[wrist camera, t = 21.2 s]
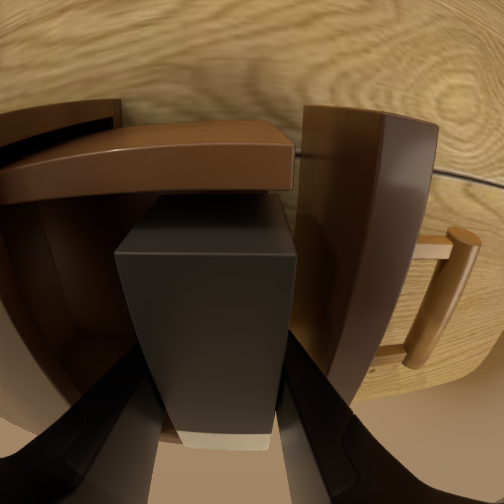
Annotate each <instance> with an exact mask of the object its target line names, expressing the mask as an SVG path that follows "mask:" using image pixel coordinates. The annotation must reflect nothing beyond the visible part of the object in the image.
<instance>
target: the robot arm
mask: <svg viewBox="0 0 504 504" xmlns="http://www.w3.org/2000/svg"><path fill="white" fill-rule="evenodd" d="M165 409H166V408H165V406H164V403H163V401H162V399H161V397H160V394H159V392H158V390H157V387H156V385H155V382H154V380H153V377H152V375H151V372H150V370H149V367H148V365H147V362H146V359H145V357H144V354H143V351H142V348H141V345H140V343H139V340H138V341H137V342H136V343H135V344H134V345H133V346H132V347H131V348H130V349H129V350H128V351H127V352H126V353H125V354H124V355H123V356H122V357H121V358H120V359H119V360H118V361H117V362H116V363H115V364H114V365H113V366H112V367H111V368H110V369H109V370H108V371H107V372H106V373H105V374H104V375H103V376H102V377H101V378H100V379H99V380H98V381H97V382H96V383H95V384H94V385H93V386H92V387H91V388H90V389H89V390H88V391H86V392H85V393H84V394H83V395H82V396H81V397H80V401H79V400H77V401H76V402H75V403H74V404H73V405H72V406H71V407H70V408H69V409H68V410H67V411H66V412H65V413H64V414H63V415H62V416H61V417H60V418H59V419H58V420H56V421H55V422H54V423H53V424H52V425H51V426H49V427H48V428H47V429H46V430H45V431H43V432H42V433H41V434H39V435H38V436H37V437H36V438H34V439H33V440H32V441H31V442H29V443H28V444H27V445H26V446H24V447H23V448H22V449H20V450H19V451H18V452H16V453H14V454H12V455H10V456H7V457H4V458H0V504H147V501H148V495H149V490H150V484H151V478H152V473H153V467H154V462H155V457H156V452H157V447H158V442H159V437H160V432H161V427H162V423H163V418H164V413H165ZM276 415H277V421H278V426H279V432H280V437H281V444H282V449H283V455H284V461H285V466H286V472H287V478H288V484H289V489H290V495H291V501H292V504H504V498H502V499H500V500H498V501H496V502H495V503H488V502H483V501H479V500H474V499H470V498H466V497H462V496H458V495H454V494H451V493H447V492H444V491H441V490H437V489H435V488H432V487H430V486H428V485H426V484H425V483H423V482H422V481H420V480H418V478H416V477H415V476H414V475H413V474H412V473H411V472H410V471H409V470H408V469H407V468H405V467H404V466H403V465H402V464H401V463H400V462H399V461H398V460H397V459H396V458H395V457H394V456H392V455H391V454H390V453H389V452H388V451H387V450H386V449H385V448H384V447H383V446H382V445H381V444H380V443H379V442H378V441H377V440H376V439H375V438H374V437H373V435H372V434H371V433H370V432H369V431H368V429H367V428H366V427H365V426H364V425H363V424H362V422H361V421H360V420H359V418H358V417H357V416H356V415H355V414H353V411H352V410H351V408H350V407H349V406H348V405H347V403H346V402H345V401H344V399H343V398H342V397H341V396H340V394H339V393H338V392H337V391H336V389H335V388H334V387H333V385H332V384H331V383H330V381H329V380H328V379H327V378H326V376H325V375H324V374H323V372H322V371H321V370H320V369H319V367H318V366H317V365H316V363H315V362H314V361H313V359H312V358H311V357H310V356H309V354H308V353H307V352H306V350H305V349H304V348H303V346H302V345H301V344H300V342H299V341H298V340H297V339H296V337H295V336H294V335H293V333H292V332H291V331H290V330H288V337H287V344H286V350H285V357H284V364H283V370H282V376H281V382H280V388H279V394H278V400H277V406H276Z"/></svg>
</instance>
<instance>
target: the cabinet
mask: <svg viewBox="0 0 504 504" xmlns="http://www.w3.org/2000/svg"><path fill="white" fill-rule="evenodd" d="M119 128H122V114H121V99H119V98H116V99H96V100H83V101H73V102H64V103H56V104H49V105H42V106H36V107H31V108H25V109H20V110H15V111H10V112H6V113H1V114H0V158H2V157H4V156H7V155H9V154H12V153H14V152H17V151H19V150H22V149H25V148H27V147H31V146H35V145H38V144H42V143H46V142H50V141H55V140H59V139H63V138H68V137H73V136H78V135H83V134H88V133H94V132H99V131H106V130H112V129H119ZM81 396H82V394H81V393H80V391H79V390H78V389H77V387H76V386H75V384H74V383H73V381H72V380H71V378H70V377H69V375H68V374H67V372H66V371H65V369H64V368H63V366H62V364H61V363H60V361H59V360H58V358H57V356H56V355H55V353H54V351H53V350H52V348H51V346H50V344H49V343H48V341H47V339H46V337H45V335H44V333H43V332H42V330H41V328H40V326H39V324H38V322H37V320H36V318H35V316H34V314H33V312H32V310H31V308H30V306H29V304H28V301H27V299H26V297H25V295H24V293H23V290H22V288H21V286H20V283H19V281H18V278H17V276H16V273H15V271H14V268H13V265H12V263H11V260H10V257H9V254H8V252H7V249H6V246H5V243H4V239H3V236H2V233H1V230H0V417H2V418H4V419H6V420H7V421H9V422H11V423H13V424H15V425H17V426H19V427H21V428H23V429H26V430H27V431H30V432H32V433H34V434H36V435H39V434H41V433H42V432H43V431H45V430H46V429H47V428H48V427H49V426H51V425H52V424H53V423H54V422H55V421H56V420H58V419H59V418H60V417H61V416H62V415H63V414H64V413H65V412H66V411H67V410H68V409H69V408H70V407H71V406H72V405H73V404H74V403H75V402H76V401H77V400H79V401H80V397H81Z"/></svg>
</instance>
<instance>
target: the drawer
mask: <svg viewBox="0 0 504 504" xmlns="http://www.w3.org/2000/svg"><path fill="white" fill-rule="evenodd" d="M438 132H439V127H438V125H436V124H434V123H431V122H427V121H423V120H419V119H415V118H411V117H407V116H403V115H398V114H394V113H389V112H384V111H377V110H369V109H360V108H350V107H338V106H324V105H304V106H303V126H302V145H301V161H300V176H299V189H298V202H297V214H296V226H295V237H294V245H295V248H296V251H297V255H298V259H297V267H296V276H295V284H294V292H293V300H292V308H291V315H290V323H289V330H290V331H291V332H292V333H293V335H294V336H295V337H296V339H297V340H298V341H299V342H300V344H301V345H302V346H303V348H304V349H305V350H306V352H307V353H308V354H309V356H310V357H311V358H312V359H313V361H314V362H315V363H316V365H317V366H318V367H319V369H320V370H321V371H322V372H323V374H324V375H325V376H326V378H327V379H328V380H329V381H330V383H331V384H332V385H333V387H334V388H335V389H336V391H337V392H338V393H339V394H340V396H341V397H342V398H343V399H344V401H345V402H346V403H347V405H348V406H350V404H351V402H352V400H353V398H354V397H355V395H356V393H357V391H358V389H359V387H360V385H361V383H362V381H363V379H364V377H365V375H366V373H367V371H368V369H369V367H371V366H379V365H386V364H392V363H398V362H401V363H402V364H403V365H404V366H405V367H407V368H410V369H419V368H421V367H423V366H424V364H425V363H426V361H427V360H428V358H429V356H430V355H431V353H432V351H433V350H434V348H435V346H436V344H437V343H438V341H439V339H440V337H441V335H442V333H443V332H444V330H445V328H446V326H447V324H448V322H449V320H450V318H451V316H452V314H453V312H454V310H455V308H456V306H457V304H458V302H459V300H460V297H461V295H462V293H463V291H464V288H465V286H466V284H467V281H468V279H469V277H470V274H471V272H472V269H473V266H474V264H475V261H476V259H477V256H478V253H479V250H480V247H481V244H482V243H481V240H480V238H479V237H477V236H476V235H475V234H474V233H472V232H470V231H468V230H466V229H463V228H460V227H449V228H448V229H447V233H446V236H434V235H419V232H420V228H421V224H422V220H423V216H424V212H425V208H426V203H427V199H428V194H429V189H430V184H431V179H432V173H433V167H434V161H435V155H436V148H437V140H438ZM295 150H296V147H295V144H294V143H293V142H292V141H290V140H289V139H288V138H287V137H286V136H285V135H284V134H282V133H281V132H280V131H279V130H278V129H277V128H276V127H274V126H273V125H272V124H271V123H270V122H268V121H262V120H214V121H190V122H175V123H162V124H152V125H142V126H134V127H126V128H119V129H112V130H106V131H99V132H94V133H88V134H83V135H78V136H73V137H68V138H63V139H59V140H55V141H50V142H46V143H42V144H38V145H35V146H31V147H27V148H25V149H22V150H19V151H17V152H14V153H12V154H9V155H7V156H4V157H2V158H0V230H1V233H2V236H3V239H4V243H5V246H6V249H7V252H8V254H9V257H10V260H11V263H12V265H13V268H14V271H15V273H16V276H17V278H18V281H19V283H20V286H21V288H22V290H23V293H24V295H25V297H26V299H27V301H28V304H29V306H30V308H31V310H32V312H33V314H34V316H35V318H36V320H37V322H38V324H39V326H40V328H41V330H42V332H43V333H44V335H45V337H46V339H47V341H48V343H49V344H50V346H51V348H52V350H53V351H54V353H55V355H56V356H57V358H58V360H59V361H60V363H61V364H62V366H63V368H64V369H65V371H66V372H67V374H68V375H69V377H70V378H71V380H72V381H73V383H74V384H75V386H76V387H77V389H78V390H79V391H80V393H81V394H82V395H83V394H84V393H85V392H86V391H88V390H89V389H90V388H91V387H92V386H93V385H94V384H95V383H96V382H97V381H98V380H99V379H100V378H101V377H102V376H103V375H104V374H105V373H106V372H107V371H108V370H109V369H110V368H111V367H112V366H113V365H114V364H115V363H116V362H117V361H118V360H119V359H120V358H121V357H122V356H123V355H124V354H125V353H126V352H127V351H128V350H129V349H130V348H131V347H132V346H133V345H134V344H135V343H136V342H137V341H138V337H137V334H136V331H135V328H134V325H133V322H132V319H131V315H130V312H129V309H128V306H127V302H126V299H125V295H124V292H123V288H122V285H121V281H120V277H119V273H118V269H117V265H116V261H115V257H114V252H115V251H116V249H117V248H118V247H119V245H120V244H121V243H122V241H123V240H124V239H125V238H126V236H127V235H128V234H129V232H130V231H131V230H132V229H133V227H134V226H135V225H136V224H137V222H138V221H139V220H140V219H141V217H142V216H143V215H144V214H145V213H146V211H147V210H148V209H149V208H150V207H151V205H152V204H153V203H154V202H155V201H156V200H157V198H158V197H159V196H160V195H171V194H268V190H271V191H291V190H292V189H293V183H294V167H295ZM412 259H438V261H437V264H436V267H435V270H434V272H433V275H432V278H431V281H430V283H429V286H428V288H427V291H426V293H425V296H424V298H423V301H422V303H421V306H420V308H419V310H418V313H417V315H416V317H415V319H414V322H413V324H412V326H411V328H410V330H409V332H408V335H407V337H406V339H405V341H404V343H403V344H396V345H389V346H380V343H381V341H382V339H383V336H384V334H385V332H386V329H387V327H388V324H389V322H390V320H391V317H392V314H393V312H394V309H395V307H396V304H397V301H398V299H399V296H400V293H401V290H402V287H403V285H404V282H405V279H406V276H407V273H408V270H409V266H410V263H411V260H412ZM379 346H380V347H379ZM159 441H162V442H169V443H177V444H183V443H182V441H181V439H180V437H179V435H178V433H177V431H176V429H175V427H174V425H173V423H172V421H171V419H170V417H169V415H168V412H167V410H166V409H165V413H164V418H163V423H162V427H161V432H160V437H159Z"/></svg>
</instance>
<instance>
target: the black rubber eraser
mask: <svg viewBox="0 0 504 504" xmlns="http://www.w3.org/2000/svg"><path fill="white" fill-rule="evenodd" d="M114 257H115V261H116V265H117V269H118V273H119V277H120V281H121V285H122V288H123V292H124V295H125V299H126V302H127V306H128V309H129V312H130V315H131V319H132V322H133V325H134V328H135V331H136V334H137V337H138V340H139V343H140V345H141V348H142V351H143V354H144V357H145V359H146V362H147V365H148V367H149V370H150V372H151V375H152V377H153V380H154V382H155V385H156V387H157V390H158V392H159V394H160V397H161V399H162V401H163V403H164V406H165V408H166V410H167V412H168V415H169V417H170V419H171V421H172V423H173V425H174V427H175V429H176V431H177V433H178V435H179V437H180V439H181V441H182V443H183V445H184V447H188V448H200V449H214V450H246V451H249V450H252V451H253V450H268V448H269V442H270V438H271V432H272V427H273V422H274V417H275V411H276V406H277V400H278V394H279V388H280V382H281V376H282V370H283V364H284V357H285V350H286V344H287V337H288V330H289V323H290V315H291V308H292V300H293V292H294V284H295V276H296V267H297V259H298V255H297V251H296V248H295V245H294V241H293V238H292V235H291V232H290V228H289V225H288V222H287V219H286V215H285V212H284V209H283V206H282V203H281V200H280V196H279V195H278V194H171V195H160V196H159V197H158V198H157V200H156V201H155V202H154V203H153V204H152V205H151V207H150V208H149V209H148V210H147V211H146V213H145V214H144V215H143V216H142V217H141V219H140V220H139V221H138V222H137V224H136V225H135V226H134V227H133V229H132V230H131V231H130V232H129V234H128V235H127V236H126V238H125V239H124V240H123V241H122V243H121V244H120V245H119V247H118V248H117V249H116V251H115V252H114Z"/></svg>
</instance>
